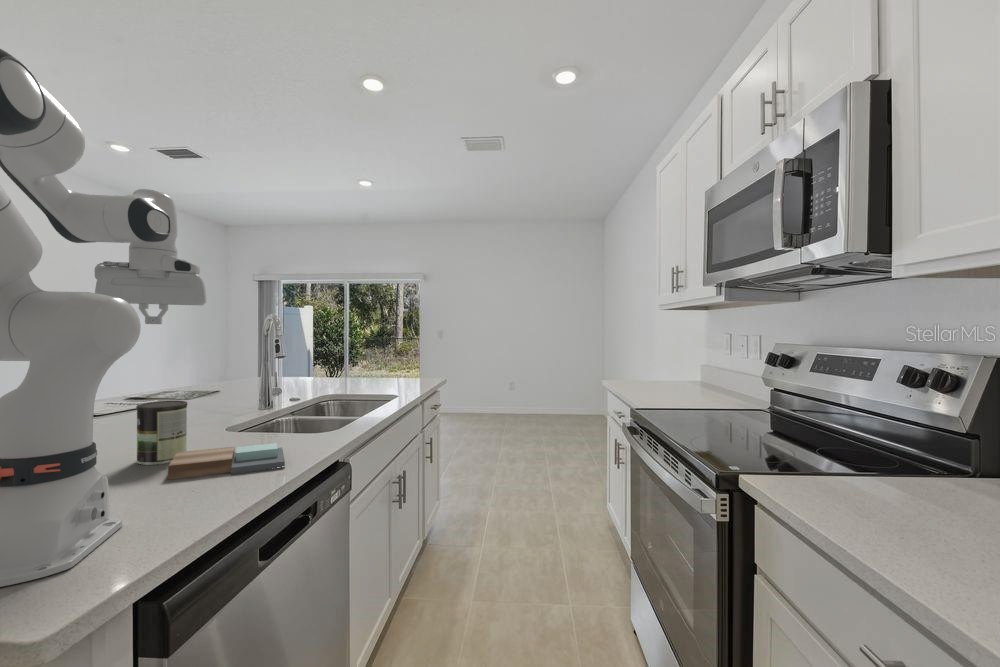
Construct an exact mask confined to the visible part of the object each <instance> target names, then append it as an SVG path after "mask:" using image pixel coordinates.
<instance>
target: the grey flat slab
mask: <svg viewBox="0 0 1000 667" xmlns="http://www.w3.org/2000/svg"><path fill="white" fill-rule="evenodd" d="M285 462H286V461H285V455H284V449H283V447H278V457H270V458H261V459H252V460H243V461H236V452H235V453H234V457H233V462H232V467H231V472H230V473H231V475H235V474H237V473H238V474H244V473H253V471H254V472H261V471H260V470H262V471H267V470H266V469H270V470H273V469H272V468H277V467H282V466H286V463H285Z"/></svg>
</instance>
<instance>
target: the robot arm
mask: <svg viewBox="0 0 1000 667" xmlns="http://www.w3.org/2000/svg"><path fill="white" fill-rule="evenodd" d="M85 149H86V140H85V134H84V132H83V130H82V129H81V127H80V125H79V123H78V121H76V119H74V117H73V116H72V115H71V114H70V113H69V112H68V110H66V108H65V107H64V106H63V104H61V103H60V102H59V101H58V99H56V97H54V95H53V94H51V92H49V91H48V90H47V88H46V87H45V86H43V84H42V83H40V82H39V81H38V80H37V79H36V76H34V74H33V72H32V71H31V70H30V69H29V68H28V67H27V66H26V65H25V64H24V63H22V62H21V61H20V60H19V59H17V58H16V57H14V56H13V55H11V54H10V53H8V52H7V51H5V50H4V49H3V48H0V168H1V170H2V171H3V172H4V173H5V174H6V176H7V177H9V179H10V180H11V181H12V182H13V183H14V185H16V186H17V187H18V188H19V189H20V190H21V191H22V192H23V193H24V195H26V196H27V197H28V199H29V200H31V201H32V202H33V203H34V205H36V206H37V207H38V209H39V210H40V211H41V212H42V213H43V214H44V215H45V216H46V218H47V219H48V222H49V223H50V224H51V226H52V228H54V230H55V231H56V232H57V234H59V235H60V236H61V237H63V238H64V239H65V240H67V241H68V242H71V243H74V244H75V243H76V244H86V243H87V244H89V243H112V244H113V243H115V244H118V243H120V244H124V243H125V244H129V246H128V262H126V261H118V262H117V261H108V260H107V261H103V262H100V263H98V264H96V265H95V267H94V278H95V280H96V283H95V288H94V292H90V291H49V290H48V291H47V290H43V289H41V288H40V287H38V286H37V285H36V284H35V283H34V282H33V279H32V277H31V274H30V273H31V272H32V271H33V270H34V269H35V268H36V267H37V266H38V264H39V262H40V261H41V259H42V256H43V246H42V243H41V242H40V241H39V239H38V237H37V236H36V234H35V233H34V232H33V229H31V227H30V225H29V224H28V222H26V220H25V218H24V217H23V216H22V214H21V213H20V211H19V209H17V207H16V205H15V204H14V202H13V201H12V199H11V198H10V197H9V195H8V194H7V193H6V191H5V190H4V188H3V187H2V186H1V185H0V362H29V366H28V370H27V373H26V374H25V377H24V378H23V380H22V381H21V383H20V384H19V385H18V386H17V388H15V389H13V390H11V391H8V392H7V393H5V394H4V395H2V396H1V397H0V587H1V588H2V587H6V586H11V585H15V584H16V585H17V584H21V583H25V582H29V581H34V580H38V579H41V578H44V577H49V576H51V575H54V574H58V573H61V572H63V571H67V570H69V569H71V568H73V567H74V566H76V565H77V564H78V563H79V562H80V561H82V560H83V559H84V558H85V557H87V556H88V555H89V554H90V553H91V552H93V551H94V550H95V549H96V548H97V547H99V545H101V544H103V543H104V542H105V541H107V539H108V538H110V537H111V536H112V535H113V534H115V532H117V531H118V530H119V529H120V528H122V527H123V520H122V518H117V517H111V505H110V493H109V492H110V490H109V479H108V477H107V476H105V475H103V474H102V473H100V472H99V471H98V469H96V467H95V466H96V465H97V463H98V462H97V456H98V450H97V444H96V442H94V440H93V439H94V438H93V437H94V434H93V433H94V413H95V412H94V410H95V400H96V395H97V392H98V389H99V386H100V384H101V382H102V380H103V378H104V377H105V375H106V373H107V372H108V370H109V369H110V368H111V367H112V366H113V364H115V363H116V361H117V360H119V359H120V358H121V357H123V356H125V355H126V354H128V353H129V352H130V351H132V349H133V348H134V347H135V345H136V343H137V342H138V339H139V338H140V334H141V320H140V316H139V315H138V313H137V311H136V309H135V307H134V306H132V305H133V304H135V305H137V304H138V309H139V311H140V312H141V313H142V315H143V317H144V323H145V325H163V317H164V316H165V315H166V314H167V312H168V310H169V305H170V306H172V305H174V306H204V305H205V304H206V303H207V293H206V292H207V291H206V286H205V282H204V280H203V278H202V277H201V276H200V273H201V268H200V266H199V265H197V264H196V263H193V262H191V261H190V262H189V261H187V260H185V259H181V258H178V250H177V245H176V240H177V237H178V217H177V211H176V206H175V203H174V200H173V199H172V197H170V196H169V195H167V194H165V193H164V192H160V191H157V190H154V189H153V190H152V189H146V188H144V189H142V188H139V189H136V190H134V191H133V192H132V194H129V195H106V194H105V195H104V194H89V193H83V192H82V193H81V192H77V191H73V190H71V189H69V188H67V187H66V185H65V184H64V183H63V182H62V181H61V179H59V177H58V176H57V175H60V174H62V173H65V172H67V171H68V170H70V169H71V168H73V167H75V165H77V163H78V162H79V161H80V160H81V159H82V156H83V155H84V152H85ZM150 305H158V308H159V310H160V312H159V313H158V314H157V316H151V315H150V314H149V312H148V310H149V306H150Z"/></svg>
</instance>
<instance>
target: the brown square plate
mask: <svg viewBox="0 0 1000 667" xmlns="http://www.w3.org/2000/svg"><path fill="white" fill-rule="evenodd" d="M235 448H236V446H230V447H229V446H227V447H226V446H225V447H217V448H209V449H197V450H196V449H195V450H188V451H187V450H186V452H177V454H176V455H175V457H174V458H173V460H172V461H171V463H168V465H167V472H168V473H167V476H168V477H167V480H177V479H183V478H191V477H192V478H193V477H198V476H199V477H200V476H207V475H215V474H217V475H218V474H224V473H231V467H232V462H233V457H234V453H235V451H236V449H235Z"/></svg>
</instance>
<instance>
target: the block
mask: <svg viewBox="0 0 1000 667" xmlns="http://www.w3.org/2000/svg"><path fill="white" fill-rule="evenodd" d="M278 448H279V447H278V443H277V442H274V443H265V444H254V445H245V446H236V449H235V451H236V461H243V460H252V459H261V458H270V457H278Z"/></svg>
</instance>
